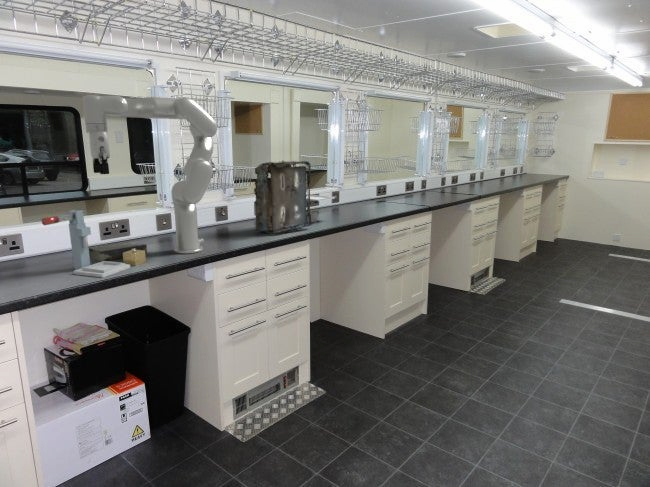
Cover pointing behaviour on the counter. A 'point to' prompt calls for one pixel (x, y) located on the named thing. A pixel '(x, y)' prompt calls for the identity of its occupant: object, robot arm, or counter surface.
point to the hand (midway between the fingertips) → (101, 173)
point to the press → (82, 252)
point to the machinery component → (282, 196)
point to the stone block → (114, 251)
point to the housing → (134, 257)
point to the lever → (58, 219)
